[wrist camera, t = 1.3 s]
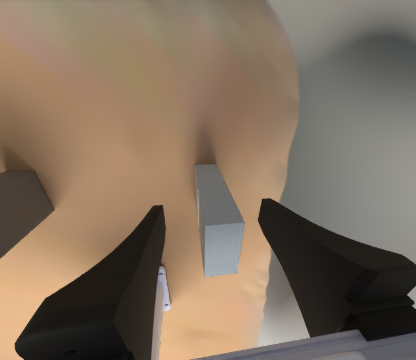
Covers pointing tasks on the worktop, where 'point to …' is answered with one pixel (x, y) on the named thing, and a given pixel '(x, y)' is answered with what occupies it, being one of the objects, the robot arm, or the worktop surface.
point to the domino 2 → (217, 222)
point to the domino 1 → (20, 207)
